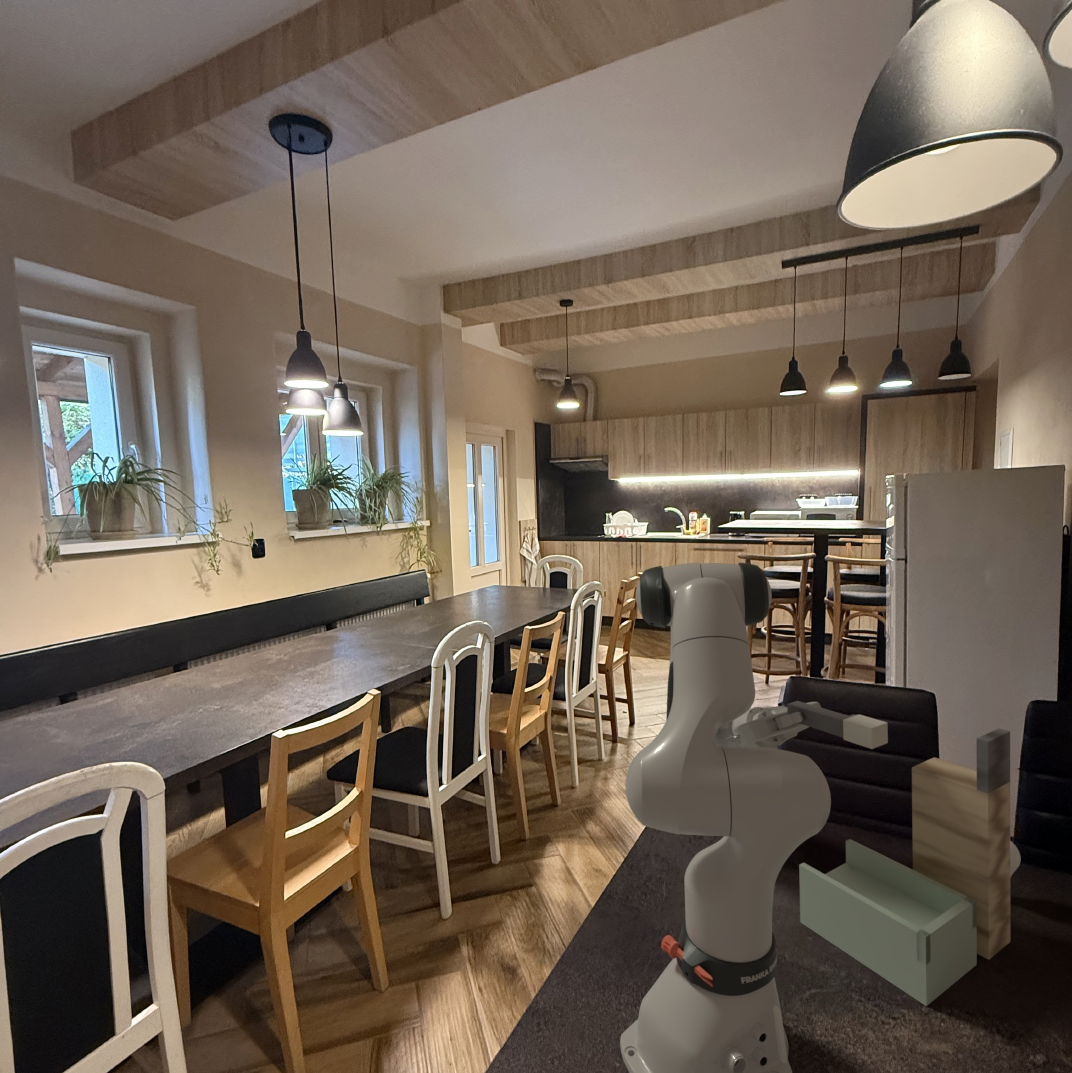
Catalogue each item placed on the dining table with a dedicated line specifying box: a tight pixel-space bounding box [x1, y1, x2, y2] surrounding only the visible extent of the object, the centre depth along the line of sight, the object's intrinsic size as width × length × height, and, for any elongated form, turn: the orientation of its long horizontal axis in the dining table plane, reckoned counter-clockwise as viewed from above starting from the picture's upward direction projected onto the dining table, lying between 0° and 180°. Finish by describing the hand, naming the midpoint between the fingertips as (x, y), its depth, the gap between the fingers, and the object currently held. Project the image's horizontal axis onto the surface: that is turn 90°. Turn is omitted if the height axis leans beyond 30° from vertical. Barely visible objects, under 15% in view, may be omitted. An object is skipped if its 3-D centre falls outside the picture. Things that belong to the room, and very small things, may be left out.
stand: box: [911, 728, 1011, 961], centre depth 96 cm, size 7×11×34 cm, turn 30°
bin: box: [798, 838, 978, 1007], centre depth 95 cm, size 14×20×10 cm
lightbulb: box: [1010, 840, 1022, 879], centre depth 104 cm, size 6×6×11 cm
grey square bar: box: [786, 700, 889, 750], centre depth 107 cm, size 4×17×4 cm, turn 29°
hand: (809, 713), depth 111 cm, fingers closed on grey square bar, 3 cm apart
